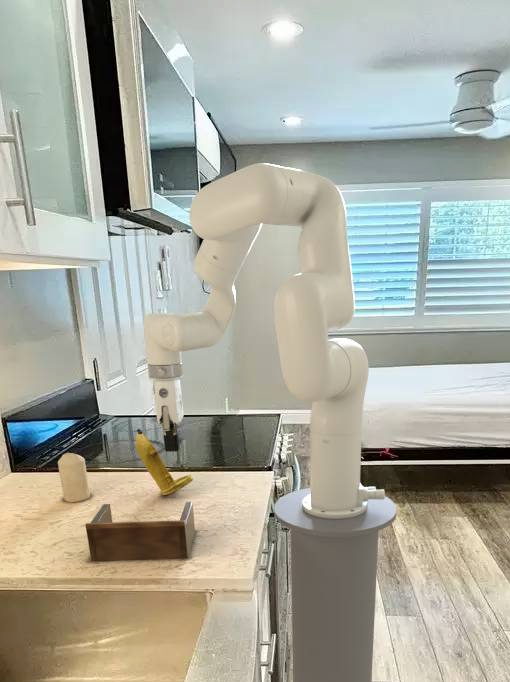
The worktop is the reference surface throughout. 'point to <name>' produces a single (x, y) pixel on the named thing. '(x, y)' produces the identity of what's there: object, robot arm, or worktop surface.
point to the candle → (73, 477)
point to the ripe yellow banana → (158, 466)
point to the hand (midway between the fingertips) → (172, 450)
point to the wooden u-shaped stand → (140, 537)
